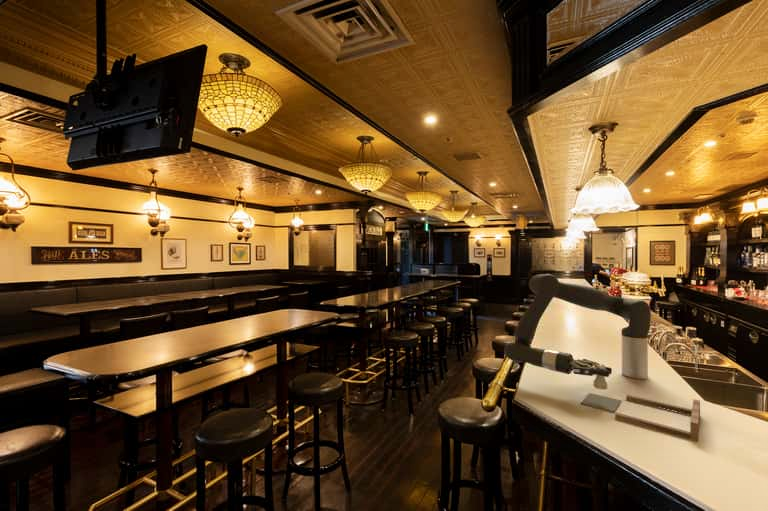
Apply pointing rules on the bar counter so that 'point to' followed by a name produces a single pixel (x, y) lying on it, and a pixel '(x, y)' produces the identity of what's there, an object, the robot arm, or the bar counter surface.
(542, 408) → the bar counter surface
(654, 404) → the walnut lane
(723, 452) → the bar counter surface
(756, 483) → the bar counter surface
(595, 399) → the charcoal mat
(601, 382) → the rook chess piece
